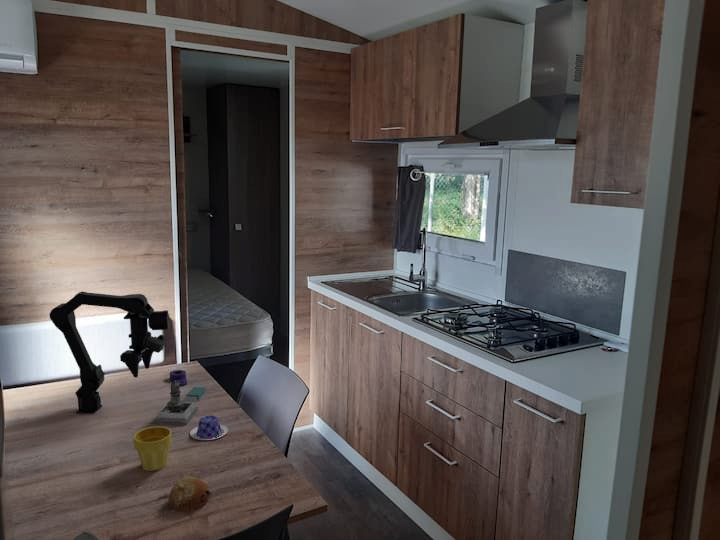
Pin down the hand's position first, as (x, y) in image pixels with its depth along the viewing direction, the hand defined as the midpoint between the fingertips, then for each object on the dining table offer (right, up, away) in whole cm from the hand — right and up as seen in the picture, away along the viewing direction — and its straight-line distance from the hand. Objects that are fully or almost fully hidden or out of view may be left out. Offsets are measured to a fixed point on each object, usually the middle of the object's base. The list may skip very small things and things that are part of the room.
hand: (141, 372), depth 207 cm
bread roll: (+34, -24, -56) cm, 69 cm away
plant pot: (+18, -20, -38) cm, 47 cm away
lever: (+5, -9, +28) cm, 30 cm away
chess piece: (+14, -13, -6) cm, 20 cm away
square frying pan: (+15, -13, +3) cm, 20 cm away
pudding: (+29, -17, -17) cm, 37 cm away
